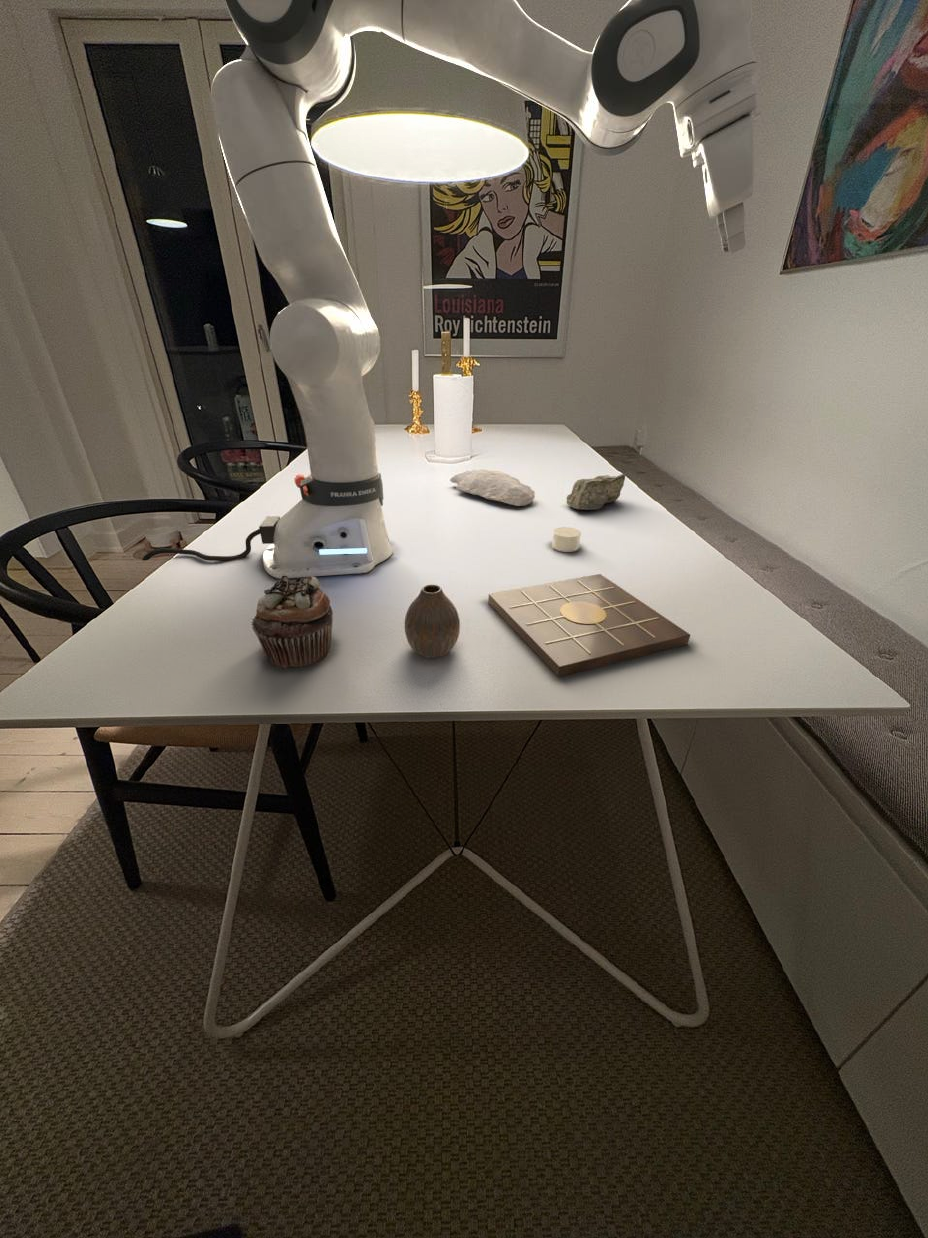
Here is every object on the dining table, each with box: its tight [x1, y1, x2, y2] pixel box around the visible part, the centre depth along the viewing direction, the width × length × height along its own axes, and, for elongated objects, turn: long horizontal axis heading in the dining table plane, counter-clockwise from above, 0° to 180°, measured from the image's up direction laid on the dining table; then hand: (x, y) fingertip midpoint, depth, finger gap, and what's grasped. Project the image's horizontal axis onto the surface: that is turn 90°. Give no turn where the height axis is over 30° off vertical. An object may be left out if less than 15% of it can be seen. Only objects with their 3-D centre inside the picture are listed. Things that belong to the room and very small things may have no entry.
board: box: [487, 573, 691, 678], centre depth 72 cm, size 20×20×2 cm
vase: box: [404, 584, 461, 659], centre depth 63 cm, size 7×7×9 cm
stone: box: [449, 469, 536, 507], centre depth 124 cm, size 16×5×25 cm
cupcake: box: [250, 576, 334, 669], centre depth 62 cm, size 10×10×10 cm
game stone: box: [551, 526, 582, 553], centre depth 96 cm, size 5×5×3 cm
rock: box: [566, 473, 626, 511], centre depth 117 cm, size 17×7×10 cm
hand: (733, 250), depth 67 cm, fingers open, 8 cm apart
